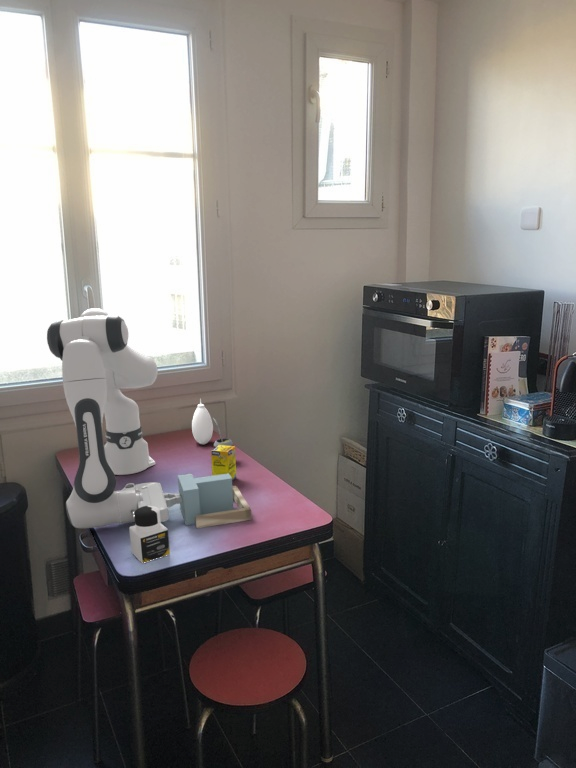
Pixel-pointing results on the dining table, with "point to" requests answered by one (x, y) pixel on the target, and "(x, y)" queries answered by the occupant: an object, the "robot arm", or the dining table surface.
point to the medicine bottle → (148, 535)
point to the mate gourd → (222, 439)
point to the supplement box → (224, 461)
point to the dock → (226, 513)
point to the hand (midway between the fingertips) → (181, 497)
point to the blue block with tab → (204, 495)
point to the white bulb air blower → (202, 425)
